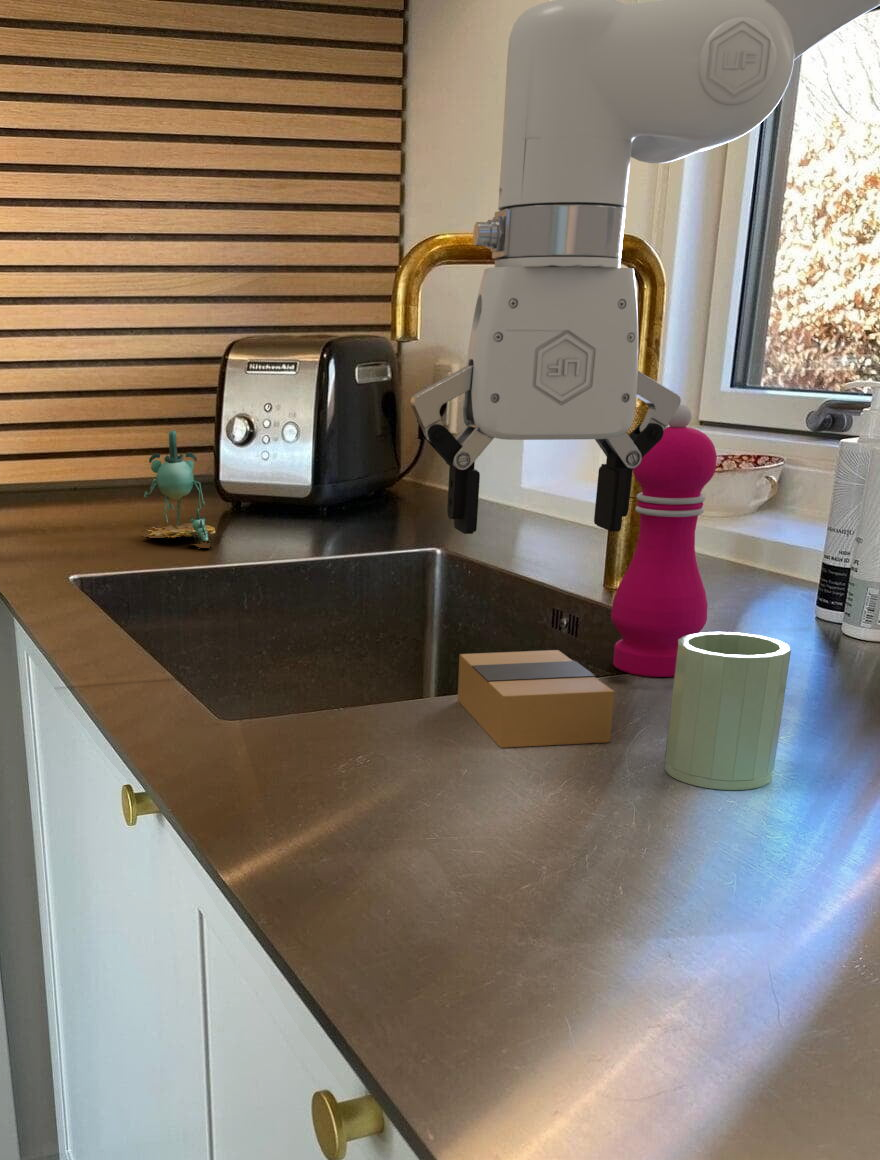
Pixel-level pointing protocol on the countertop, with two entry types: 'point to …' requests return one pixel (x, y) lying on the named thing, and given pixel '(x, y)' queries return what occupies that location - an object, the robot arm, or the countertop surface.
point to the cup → (726, 709)
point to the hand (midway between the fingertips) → (536, 529)
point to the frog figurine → (177, 491)
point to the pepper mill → (665, 553)
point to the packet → (535, 698)
